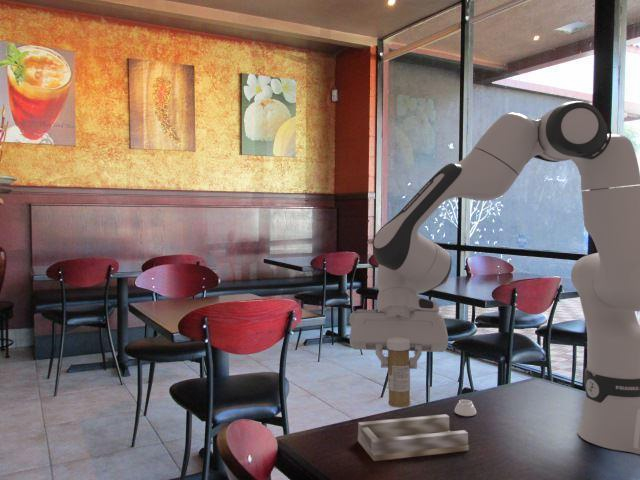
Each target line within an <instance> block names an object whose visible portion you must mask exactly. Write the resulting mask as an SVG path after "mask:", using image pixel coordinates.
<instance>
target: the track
mask: <svg viewBox="0 0 640 480" xmlns="http://www.w3.org/2000/svg"><path fill="white" fill-rule="evenodd" d="M357 424H358V425H357V426H358V427H357V429H358V431H357V432H358V434H357V435H358V436H357V442H358V443H359V444H360V446H361V447H362V448H363V449H364V450H365V452H366V453H367V454H368V455H369V456H370V458H371V459H372V461H374V462H379V461H387V460H388V461H389V460H396V459H405V458H414V457H415V458H416V457H423V456H432V455H442V454H450V453H458V452H459V453H460V452H468V451H469V447H470V445H469V432H467V430H465V429H464V430H462V429H461V430H454V431H451V430H450V415H448V414H446V413H445V414H435V415H434V414H433V415H424V416H414V417H412V416H411V417H404V418H403V417H402V418H392V419H380V420H371V421H370V420H369V421H359V422H358V423H357Z"/></svg>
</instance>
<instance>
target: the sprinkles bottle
mask: <svg viewBox="0 0 640 480" xmlns="http://www.w3.org/2000/svg"><path fill="white" fill-rule="evenodd" d="M387 349H388V350H387V357H388V368H387V382H388V383H387V385H388V386H387V387H388V402H387V403H388V406H390V407H393V408H397V409H403V408H404V409H405V408H408V407H410V406H411V399H410V398H411V395H410V390H411V372H410V371H411V369H410V364H409V358H410V351H409V349H410V341H409V339H407V338H400V337H397V338H389V339H388V340H387Z"/></svg>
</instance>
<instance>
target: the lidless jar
mask: <svg viewBox="0 0 640 480" xmlns="http://www.w3.org/2000/svg"><path fill="white" fill-rule="evenodd" d="M454 413H455V414H457V415H458V416H462V417H473V416H475V415H477V410H476V408H475V405H474V404H473V401H472V400H469V399H459V400H458V403H457V404H456V405H455V408H454Z"/></svg>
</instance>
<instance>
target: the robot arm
mask: <svg viewBox="0 0 640 480" xmlns="http://www.w3.org/2000/svg"><path fill="white" fill-rule="evenodd" d="M533 158H534V159H538V160H541V161H544V162H548V163H549V162H550V163H559V162H565V161H569V160H571V162H573V163H574V164H575V166H576V168H577V169H578V172H579V175H580V190H581V202H582V214H583V226H584V228H585V231H586V232H587V233H588V234H589V236H590V237H591V238H592V241H593V242H594V245H595V249H596V251H597V252H595V253H592V254H591V253H590V254H588V255H584V256H582V257H581V258H579V259H578V260H577V261H576V262H575V263H574V265H572V269H571V272H570V279H571V282H572V285H573V287H574V288H575V290H576V292H577V294H578V297H579V300H580V306H581V309H582V312H583V318H584V321H585V327H586V334H587V335H586V337H587V341H586V342H587V343H586V344H587V348H586V350H587V351H586V353H587V357H586V360H587V361H586V362H587V363H586V368H585V369H584V380H583V381H584V384H583V385H584V390H585V395H584V402H583V409H582V415H581V418H580V421H579V425H578V428H577V432H576V433H577V435H578V436H579V437H580V438H581V439H583V440H585V441H586V442H588V443H591V444H592V445H596V446H598V447H602V448H604V449H605V448H606V449H609V450H614V451H621V452H629V453H633V454H637V455H640V324H639V321H638V317H637V315H636V312H640V168H639V167H640V166H639V161H638V158H637V155H636V151H635V148H634V146H633V142H632V141H631V140H630V139H629V137H627V136H624V135H622V134H619V133H612V130H611V128H610V127H609V126H608V124H607V123H606V121H605V118H604V117H603V115H602V114H601V112H600V111H599V109H597V108H596V107H595V106H594V105H592V104H590V103H588V102H585V101H582V100H581V101H579V100H574V101H568V102H567V101H566V102H565V103H562V104H560V105H558V106H556V107H554V108H552V109H550V110H549V111H547V112H546V113H545V114H544V115H542V116H541V117H539V118H537V119H531V118H529V117H528V116H526V115H525V114H522V113H518V112H508V113H507V112H506V113H504V114H503V115H501V116H500V117H498V119H497V120H495V122H493V123H492V124H491V126H490V127H489V128H488V129H487V130H486V131H485V132H484V133H483V135H481V137H480V139H479V140H478V141H477V143H476V144H475V145H474V147H473V148H472V149H471V151H469V153H468V154H467V155H466V156H465V157H464V158H462V159H461V160H460V161H458V162H457V163H448V164H446V165H444V166H443V167H442V168H441V169H439V170H438V171H437V172H436V173H435V174H434V175H433V176H432V177H431V178H430V179H429V180H428V181H427V182H426V183H425V184H424V185H423V186H422V187H421V188H420V190H419V191H418V192H416V194H415V195H413V197H412V198H411V199H410V200H409V201H408V202H407V204H405V206H404V207H403V208H402V209H401V210H400V211H399V212H398V213H397V214H396V215H395V216H394V217H393V218H391V219H390V220H389V221H388V222H386V223H385V224H384V225H383V226H382V227H380V228H379V229H378V231H377V232H376V234H375V236H373V240H372V251H373V255H374V258H375V261H376V262H377V264H378V268H377V276H376V277H377V278H376V279H377V281H376V282H377V288H378V293H377V300H376V304H377V305H376V307H377V308H376V309H363V308H361V309H360V308H358V309H356V310H354V311H352V312H351V313H350V314H349V317H348V318H349V320H348V323H349V325H350V326H351V327H350V332H349V333H350V334H349V346H350V347H351V348H352V349H353V350H361V351H375V355H376V357H377V359H378V360H379V361H380V368H381V369H382V368H383V369H388V356H385V355H384V354H383V351H388V349H387V340H388V339H389V338H397V337H400V338H407V339H409V341H410V349H409V352H413V353H414V355H413V356H412V357H411V356H409V364H410V370H417V369H418V361H419V360H420V357H421V356H422V354H423V353H422V352H426V353H427V352H429V353H431V352H433V353H443V352H445V351H446V349H447V348H448V346H449V335H448V329H447V325H446V322H445V319H444V317H443V316H442V314H440V305H439V302H437V301H435V300H431V299H428V298H425V297H422V296H419V294H424V293H426V292H429V291H433V290H434V289H436V288H438V287H440V286H441V285H443V284H445V282H447V281H448V279H449V277H450V274H451V271H452V265H453V263H452V256H451V254H450V252H449V251H448V250H446V249H444V248H443V247H442V246H440V245H439V244H437V243H436V242H434V241H432V240H431V239H429V238H428V237H425V236H424V235H423V234H421V233H420V232H418V230H419V229H420V227H421V226H422V225H423V224H424V223H426V221H427V220H428V218H429V217H431V216H432V214H433V213H434V212H435V211H436V210H437V209H438V208H439V207H440V206H441V204H443V203H445V202H446V201H448V200H451V199H455V198H459V199H460V198H463V199H466V200H467V199H468V200H472V201H473V200H474V201H480V202H482V201H483V202H484V201H485V202H487V201H492V200H496V199H498V198H500V197H502V196H504V195H505V194H506V192H508V191H509V189H511V187H512V186H513V185H514V183H515V181H516V180H517V178H518V177H519V175H520V174H521V172H522V171H523V170H524V168H525V166H526V165H527V164H529V162H530V161H531V160H532V159H533Z"/></svg>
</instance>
